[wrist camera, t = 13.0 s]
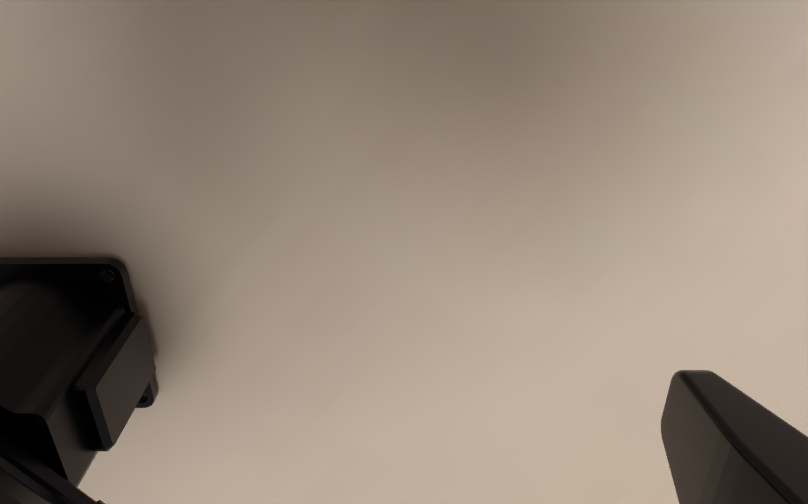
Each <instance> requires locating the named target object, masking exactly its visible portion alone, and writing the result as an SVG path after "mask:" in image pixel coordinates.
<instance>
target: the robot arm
mask: <svg viewBox="0 0 808 504" xmlns="http://www.w3.org/2000/svg"><path fill="white" fill-rule="evenodd" d="M105 270H110V271H111V272H113V273H114V275H115V277H113V276H110V275H108V274H107V273H106V271H105ZM155 370H156V367H155V363H154V359H153V355H152V351H151V347H150V344H149V340H148V336H147V332H146V328H145V324H144V320H143V317H142V316H141V315H140V314H139V313H138V312H137V309H136V305H135V301H134V298H133V294H132V290H131V286H130V282H129V278H128V274H127V270H126V268H125V266H124V265H123V264H122V263H121V262H120V261H118V260H116V259H113V258H0V504H105V503H103V502H102V501H100V500H99V501H97V502H96V501H95V500H94V499H92V498H91V497H89V496H88V495H87V494H85V493H84V492H83V491H81V490H80V489H79V488H77V487H78V485H79V484H80V482H81V480H82V478H83V477H84V475H85V473H86V471H87V470H88V468H89V466H90V465H91V463H92V461H93V459H94V458H95V456H96V454H97V452H98V451H109V450H110V449H111V448H112V447H113V446H114V445H115V443H116V441H117V439H118V438H119V436H120V434H121V432H122V430H123V429H124V427H125V425H126V423H127V421H128V420H129V418H130V416H131V414H132V412H133V410H134V409H135V408H145V407H149V406H151V405H152V404H153V402H154V400H155V398H156V396H157V387H156V383H155V380H154V376H153V374H154V373H155ZM142 394H145V395H146V396H143V395H142ZM661 434H662V440H663V444H664V447H665V451H666V455H667V459H668V463H669V466H670V470H671V474H672V478H673V481H674V485H675V489H676V493H677V497H678V500H679V504H808V437H807V436H806V435H804V434H803V433H801V432H800V431H798V430H797V429H796V428H794V427H793V426H791V425H790V424H788V423H787V422H785V421H784V420H782V419H781V418H780V417H778V416H777V415H775V414H774V413H772V412H771V411H769V410H768V409H766V408H765V407H763V406H762V405H761V404H759V403H758V402H756V401H755V400H753V399H752V398H750V397H749V396H747V395H746V394H745V393H743V392H742V391H740V390H739V389H737V388H736V387H734V386H733V385H731V384H730V383H729V382H727V381H726V380H724V379H723V378H721V377H720V376H718V375H717V374H715V373H713V372H711V371H707V370H680V371H678V372H676V373H675V374H674V375H673V377H672V380H671V383H670V387H669V391H668V395H667V399H666V403H665V407H664V411H663V415H662V419H661Z"/></svg>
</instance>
